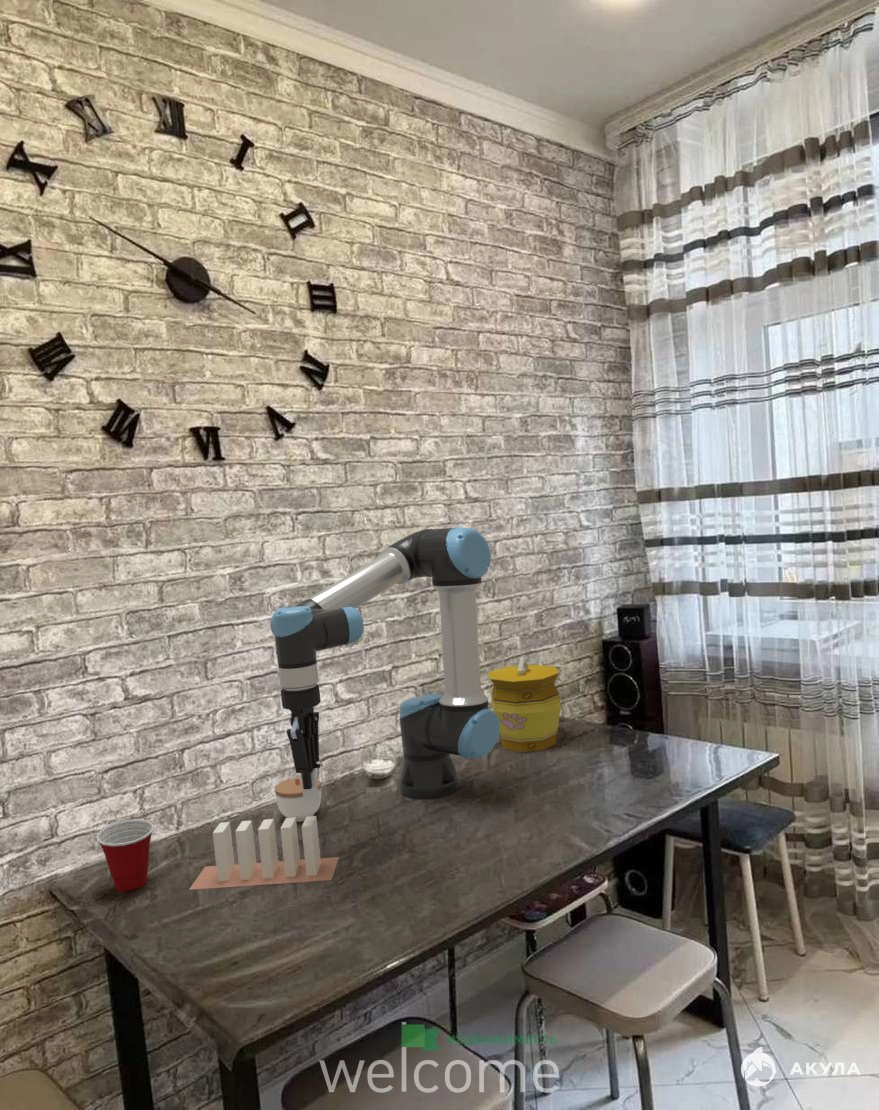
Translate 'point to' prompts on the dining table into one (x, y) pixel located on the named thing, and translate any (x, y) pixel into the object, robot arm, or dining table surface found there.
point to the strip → (210, 878)
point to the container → (526, 706)
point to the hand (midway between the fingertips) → (311, 802)
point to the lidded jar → (295, 800)
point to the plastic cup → (127, 852)
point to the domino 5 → (311, 845)
